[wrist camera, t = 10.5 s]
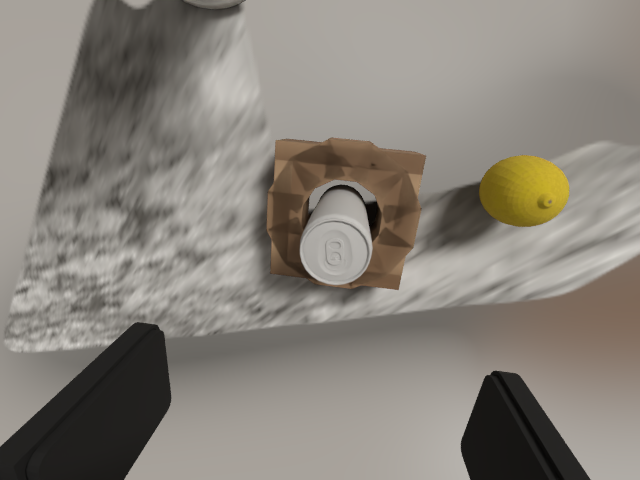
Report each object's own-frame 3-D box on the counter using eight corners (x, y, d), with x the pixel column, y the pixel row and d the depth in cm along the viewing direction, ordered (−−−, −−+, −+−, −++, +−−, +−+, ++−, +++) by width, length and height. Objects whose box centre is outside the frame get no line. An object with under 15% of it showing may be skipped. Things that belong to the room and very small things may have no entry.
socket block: (281, 132, 29) (269, 132, 24) (421, 146, 28) (434, 149, 24) (275, 259, 33) (264, 277, 29) (396, 274, 32) (403, 295, 28)
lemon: (522, 211, 29) (582, 240, 22) (462, 211, 30) (500, 239, 22) (535, 151, 27) (605, 160, 20) (470, 152, 28) (515, 160, 20)
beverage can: (318, 230, 32) (300, 286, 20) (316, 184, 30) (294, 217, 19) (365, 230, 31) (373, 287, 20) (365, 182, 30) (373, 215, 18)
